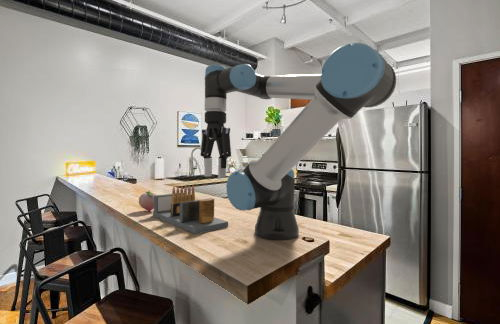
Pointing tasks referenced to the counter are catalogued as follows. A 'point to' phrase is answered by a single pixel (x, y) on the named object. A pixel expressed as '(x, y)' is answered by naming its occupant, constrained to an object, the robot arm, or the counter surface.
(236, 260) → the counter surface
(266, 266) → the counter surface
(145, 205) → the decorative fruit
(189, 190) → the ammunition clip
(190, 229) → the vise base
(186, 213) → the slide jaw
